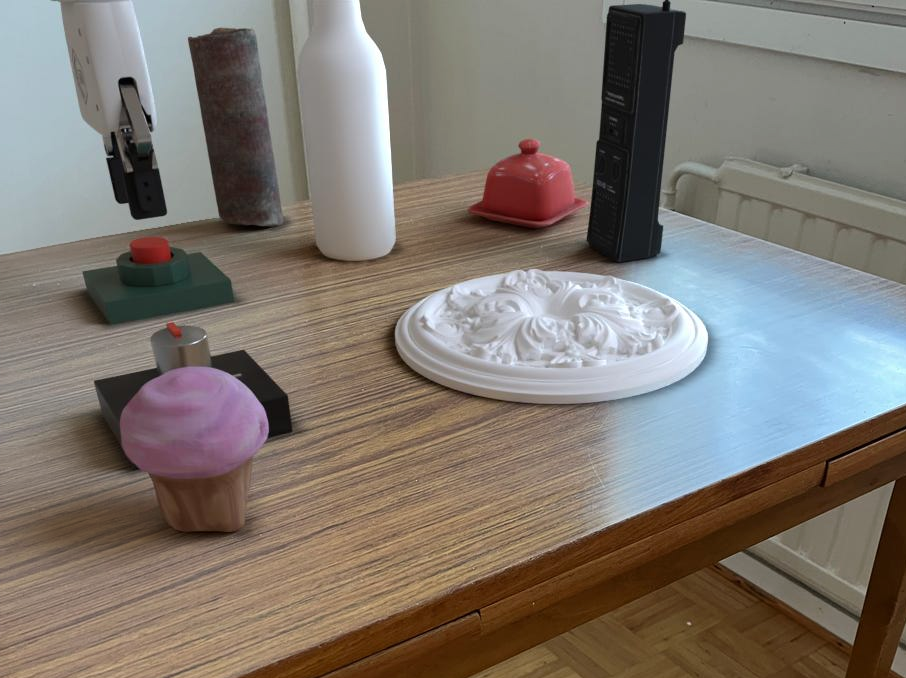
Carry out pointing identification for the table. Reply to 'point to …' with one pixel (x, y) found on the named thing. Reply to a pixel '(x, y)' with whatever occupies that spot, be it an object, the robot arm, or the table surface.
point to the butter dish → (528, 189)
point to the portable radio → (633, 129)
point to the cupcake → (196, 445)
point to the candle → (236, 126)
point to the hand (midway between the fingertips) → (141, 207)
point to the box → (157, 286)
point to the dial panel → (238, 364)
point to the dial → (180, 348)
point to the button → (150, 250)
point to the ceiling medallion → (551, 338)
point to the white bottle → (346, 134)
